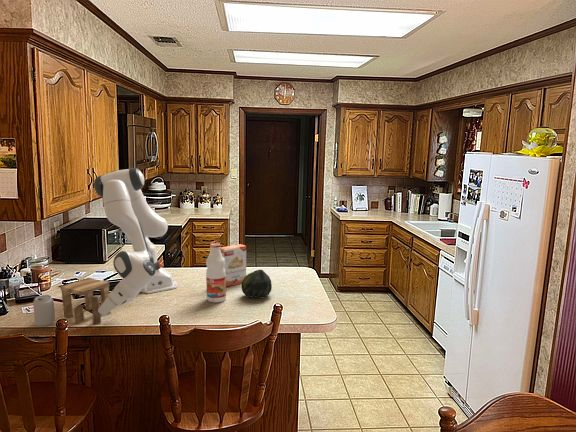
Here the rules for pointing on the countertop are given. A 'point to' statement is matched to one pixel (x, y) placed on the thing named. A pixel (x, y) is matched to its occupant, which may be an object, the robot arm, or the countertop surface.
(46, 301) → the can
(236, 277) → the cracker box
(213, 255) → the fruit juice
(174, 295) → the countertop surface
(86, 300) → the stool
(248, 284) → the squash
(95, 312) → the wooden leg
